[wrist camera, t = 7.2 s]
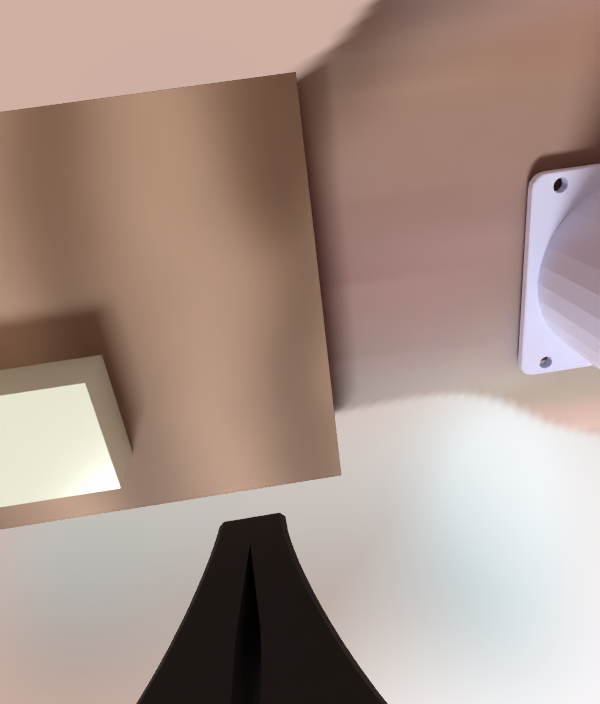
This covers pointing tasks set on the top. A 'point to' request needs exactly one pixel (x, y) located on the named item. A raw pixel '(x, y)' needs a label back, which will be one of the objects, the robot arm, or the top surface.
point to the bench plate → (173, 283)
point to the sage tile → (60, 432)
